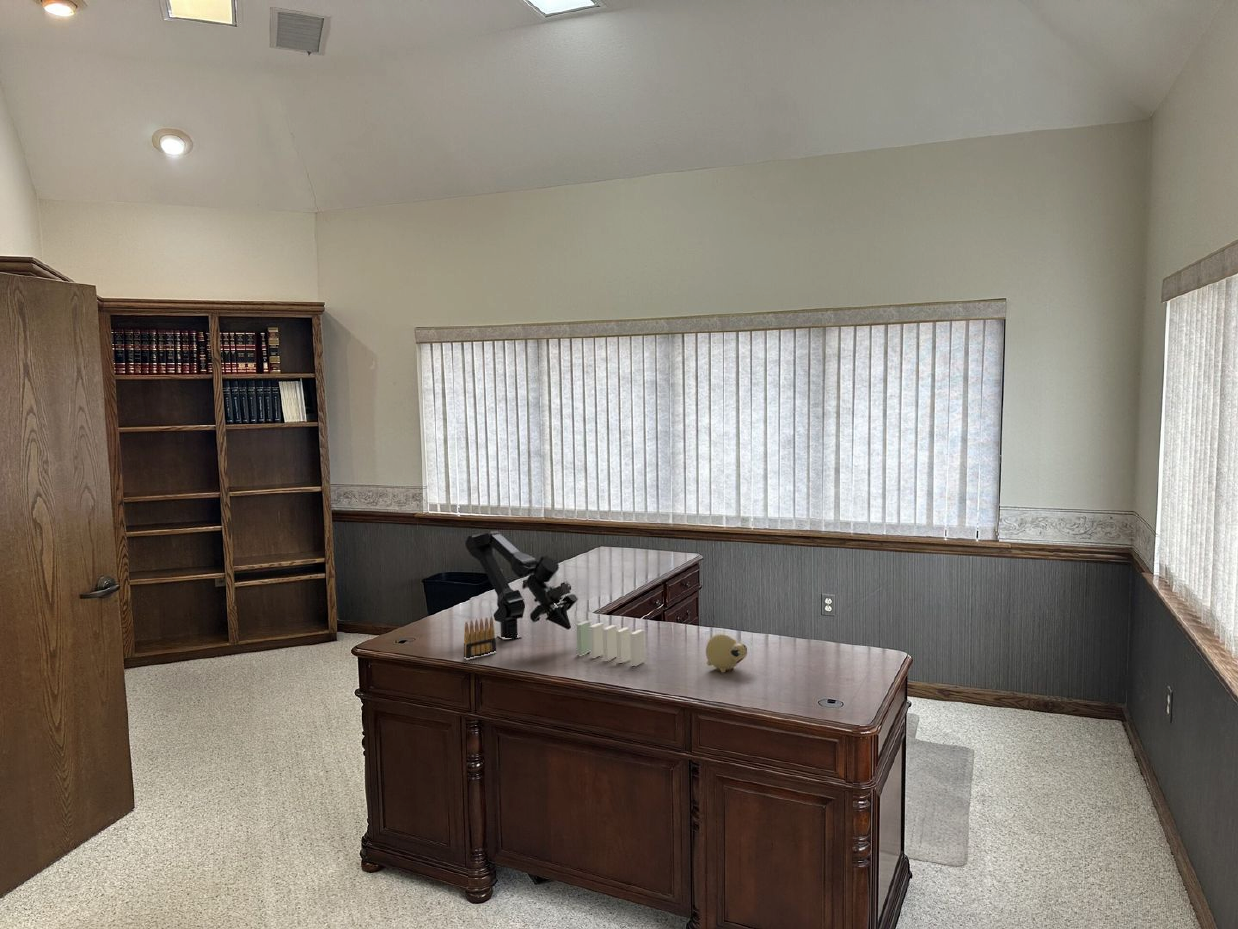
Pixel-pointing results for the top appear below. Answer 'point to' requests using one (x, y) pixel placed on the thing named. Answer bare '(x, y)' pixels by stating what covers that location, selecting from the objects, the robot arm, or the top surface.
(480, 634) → the ammunition clip
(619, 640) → the domino
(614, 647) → the domino
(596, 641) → the domino
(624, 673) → the top surface
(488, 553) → the robot arm
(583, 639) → the domino
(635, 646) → the domino
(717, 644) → the beige round figure
